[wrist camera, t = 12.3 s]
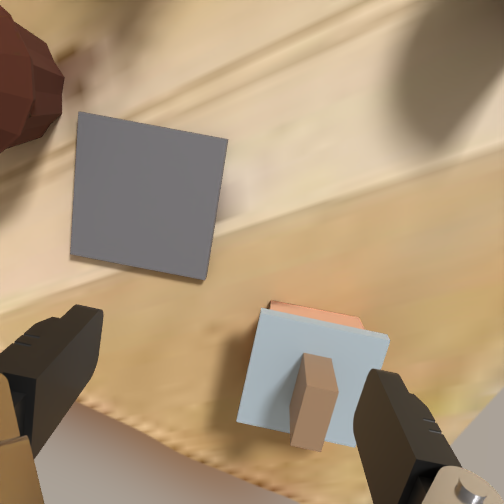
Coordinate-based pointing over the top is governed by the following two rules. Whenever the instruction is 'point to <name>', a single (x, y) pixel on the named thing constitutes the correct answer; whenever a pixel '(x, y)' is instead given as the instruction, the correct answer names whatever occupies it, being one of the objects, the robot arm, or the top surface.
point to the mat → (146, 195)
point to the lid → (308, 377)
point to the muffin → (26, 85)
